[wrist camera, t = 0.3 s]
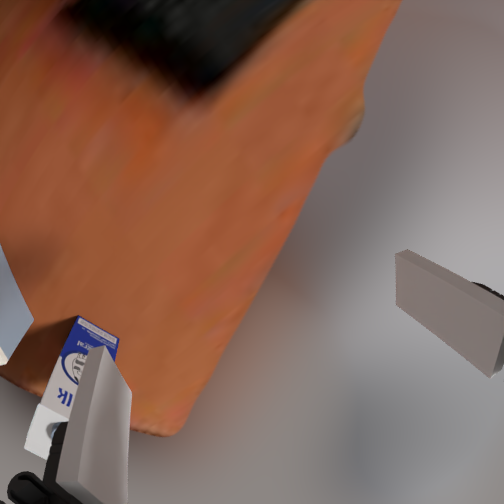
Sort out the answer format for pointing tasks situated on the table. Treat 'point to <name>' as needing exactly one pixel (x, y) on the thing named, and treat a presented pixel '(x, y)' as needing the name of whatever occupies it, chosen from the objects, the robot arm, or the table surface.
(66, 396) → the milk carton
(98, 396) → the robot arm
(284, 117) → the table surface
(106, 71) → the table surface
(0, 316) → the box with square opening
